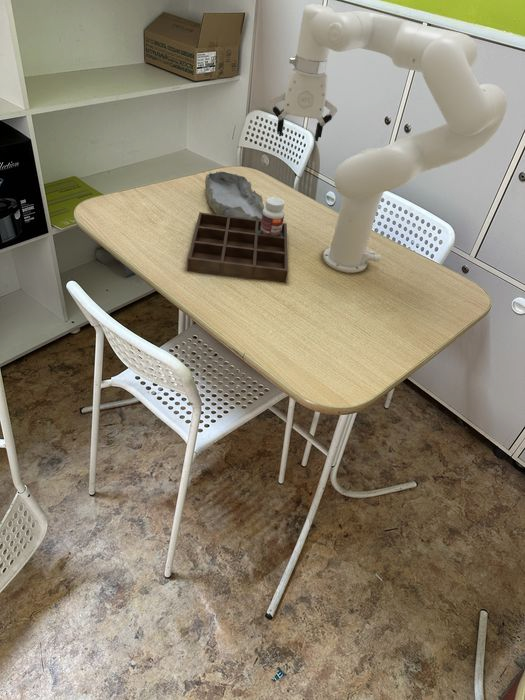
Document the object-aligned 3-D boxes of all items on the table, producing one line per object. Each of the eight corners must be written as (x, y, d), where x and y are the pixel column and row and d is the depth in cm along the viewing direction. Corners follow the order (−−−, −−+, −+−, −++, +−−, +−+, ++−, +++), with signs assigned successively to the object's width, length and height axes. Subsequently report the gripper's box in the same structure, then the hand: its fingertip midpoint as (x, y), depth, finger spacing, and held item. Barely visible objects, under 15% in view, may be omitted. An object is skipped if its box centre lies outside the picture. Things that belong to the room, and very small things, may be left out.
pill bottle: (271, 245, 148) (277, 208, 140) (254, 236, 150) (259, 199, 143) (284, 238, 152) (290, 202, 144) (268, 230, 154) (273, 194, 147)
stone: (267, 232, 159) (227, 184, 176) (274, 207, 153) (232, 160, 171) (226, 235, 152) (188, 185, 170) (232, 209, 147) (192, 160, 164)
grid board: (284, 234, 155) (286, 223, 153) (285, 283, 136) (287, 270, 133) (198, 223, 154) (199, 212, 151) (187, 271, 134) (187, 258, 132)
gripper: (275, 64, 123) (265, 137, 134) (346, 75, 124) (331, 146, 135) (275, 56, 129) (266, 127, 140) (343, 67, 130) (329, 136, 141)
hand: (298, 137), depth 138 cm, fingers open, 9 cm apart
